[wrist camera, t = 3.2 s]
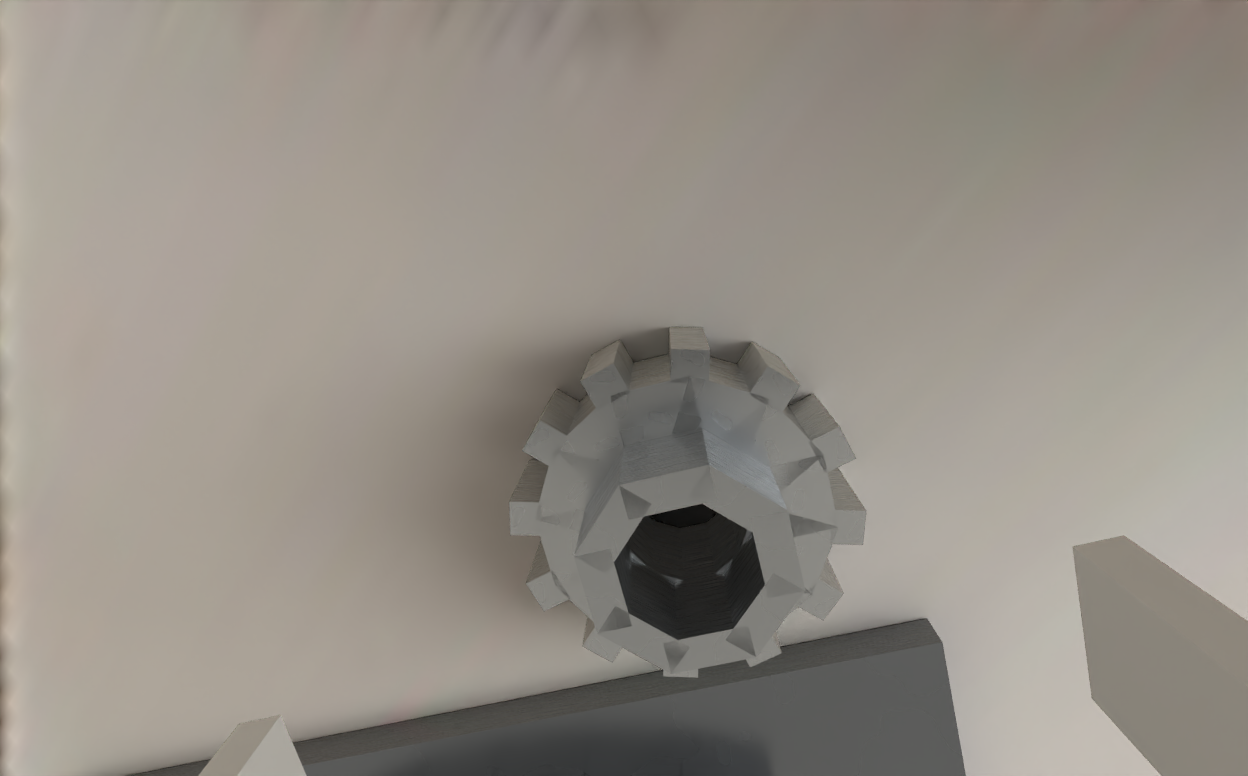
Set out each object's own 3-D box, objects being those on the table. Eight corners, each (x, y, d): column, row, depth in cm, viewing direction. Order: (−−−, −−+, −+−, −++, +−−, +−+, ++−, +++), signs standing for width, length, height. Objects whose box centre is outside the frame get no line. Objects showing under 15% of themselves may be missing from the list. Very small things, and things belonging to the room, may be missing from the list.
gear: (494, 370, 20) (435, 431, 15) (802, 294, 19) (855, 330, 14) (576, 638, 22) (550, 775, 17) (860, 580, 21) (926, 706, 16)
